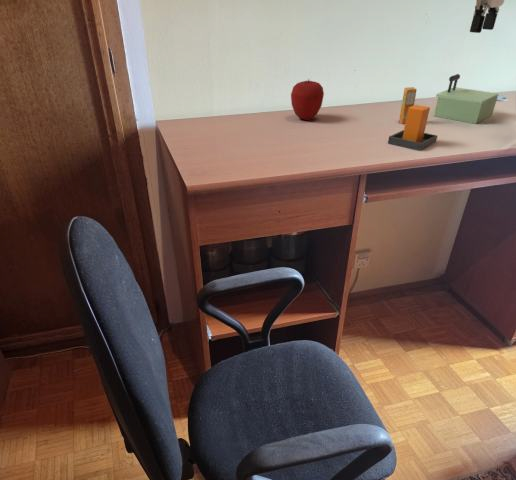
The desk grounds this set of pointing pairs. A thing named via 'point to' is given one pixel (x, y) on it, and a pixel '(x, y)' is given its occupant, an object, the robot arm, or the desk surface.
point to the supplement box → (407, 102)
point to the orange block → (415, 123)
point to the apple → (307, 99)
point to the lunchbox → (464, 110)
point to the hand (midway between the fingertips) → (481, 30)
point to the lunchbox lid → (465, 93)
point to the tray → (427, 141)
